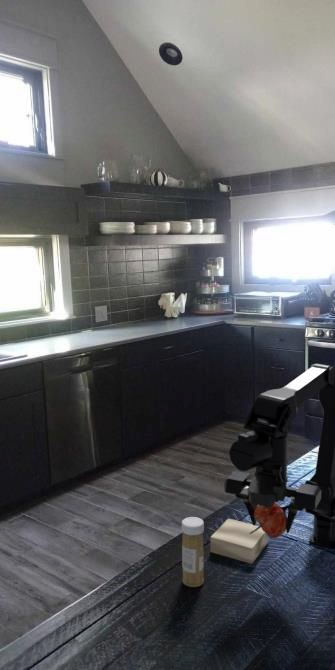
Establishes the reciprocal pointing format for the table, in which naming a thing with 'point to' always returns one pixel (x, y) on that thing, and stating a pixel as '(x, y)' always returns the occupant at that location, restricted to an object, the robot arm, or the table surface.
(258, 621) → the table surface
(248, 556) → the pale wooden block
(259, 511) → the red oval lump
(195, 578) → the sprinkles bottle
